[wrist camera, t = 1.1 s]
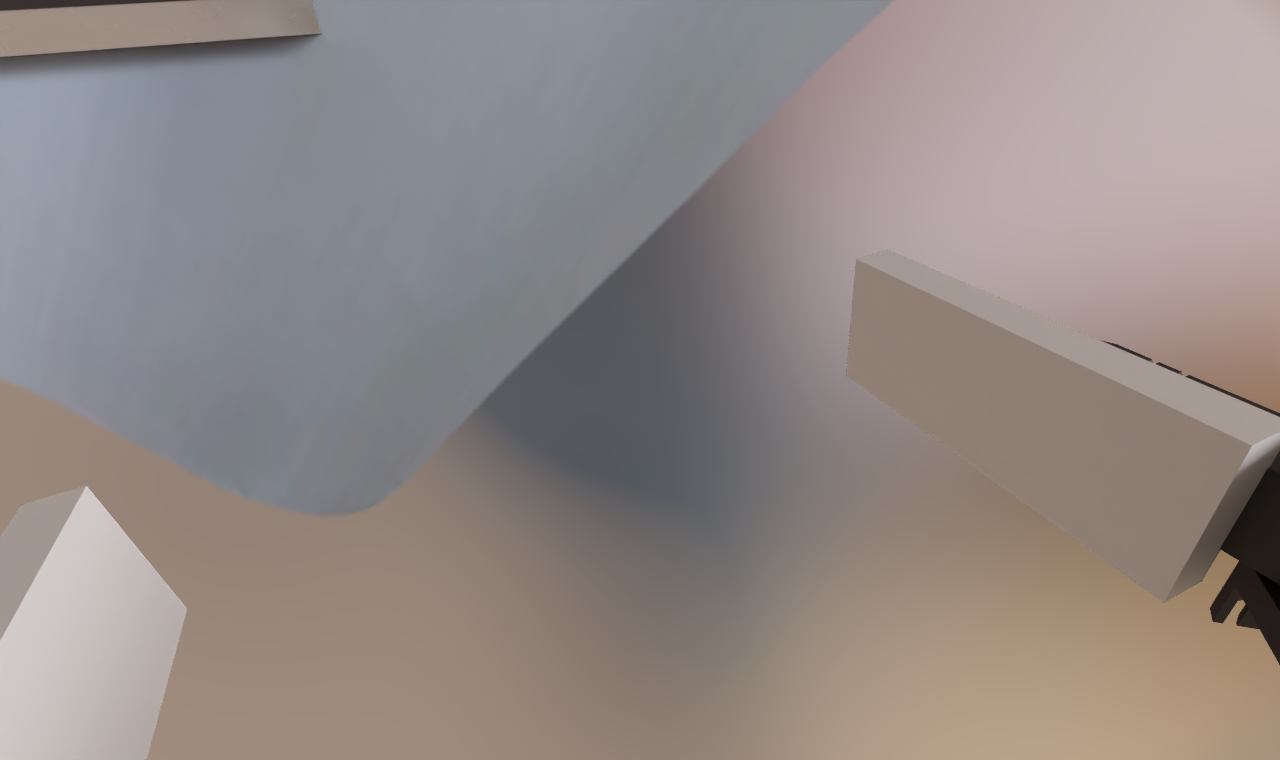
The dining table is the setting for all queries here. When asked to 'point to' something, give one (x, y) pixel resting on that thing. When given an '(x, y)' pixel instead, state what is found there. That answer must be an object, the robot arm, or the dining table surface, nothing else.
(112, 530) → the robot arm
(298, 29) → the console
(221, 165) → the dining table surface
